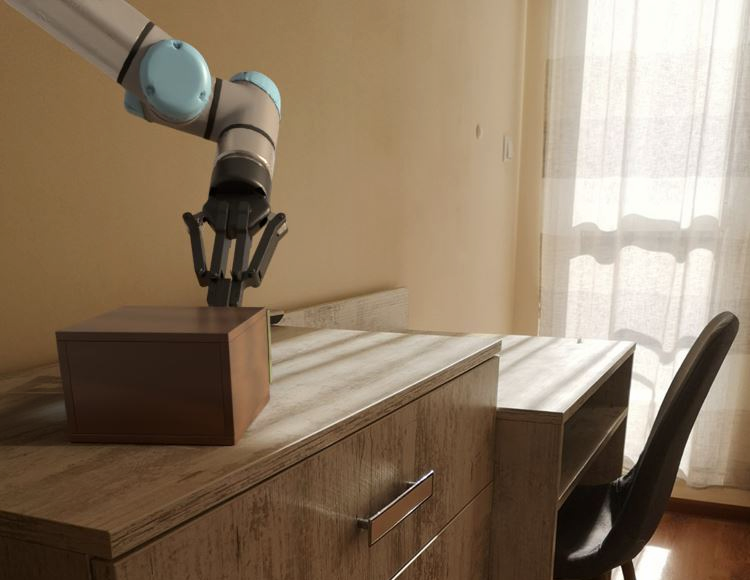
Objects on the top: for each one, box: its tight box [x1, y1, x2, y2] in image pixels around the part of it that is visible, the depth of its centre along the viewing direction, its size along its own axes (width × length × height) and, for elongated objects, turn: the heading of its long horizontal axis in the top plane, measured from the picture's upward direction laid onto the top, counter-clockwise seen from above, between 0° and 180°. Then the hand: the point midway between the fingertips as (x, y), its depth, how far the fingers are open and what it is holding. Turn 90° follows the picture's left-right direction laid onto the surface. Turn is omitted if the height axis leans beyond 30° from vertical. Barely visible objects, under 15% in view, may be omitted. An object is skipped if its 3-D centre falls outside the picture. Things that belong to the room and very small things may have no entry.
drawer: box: [266, 308, 274, 384], centre depth 84 cm, size 20×13×8 cm
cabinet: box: [54, 305, 271, 446], centre depth 77 cm, size 17×15×10 cm
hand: (220, 331), depth 93 cm, fingers closed
